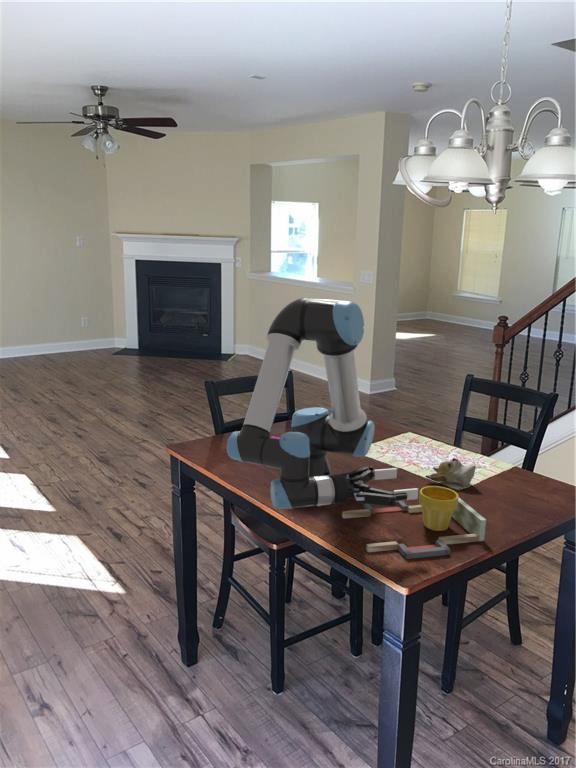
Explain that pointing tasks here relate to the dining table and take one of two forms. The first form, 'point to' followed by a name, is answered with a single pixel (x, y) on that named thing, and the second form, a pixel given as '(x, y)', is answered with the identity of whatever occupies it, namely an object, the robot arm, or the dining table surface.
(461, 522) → the box
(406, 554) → the trap bays
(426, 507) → the plant pot
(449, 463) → the ceramic sculpture
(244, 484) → the dining table surface
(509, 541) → the dining table surface
